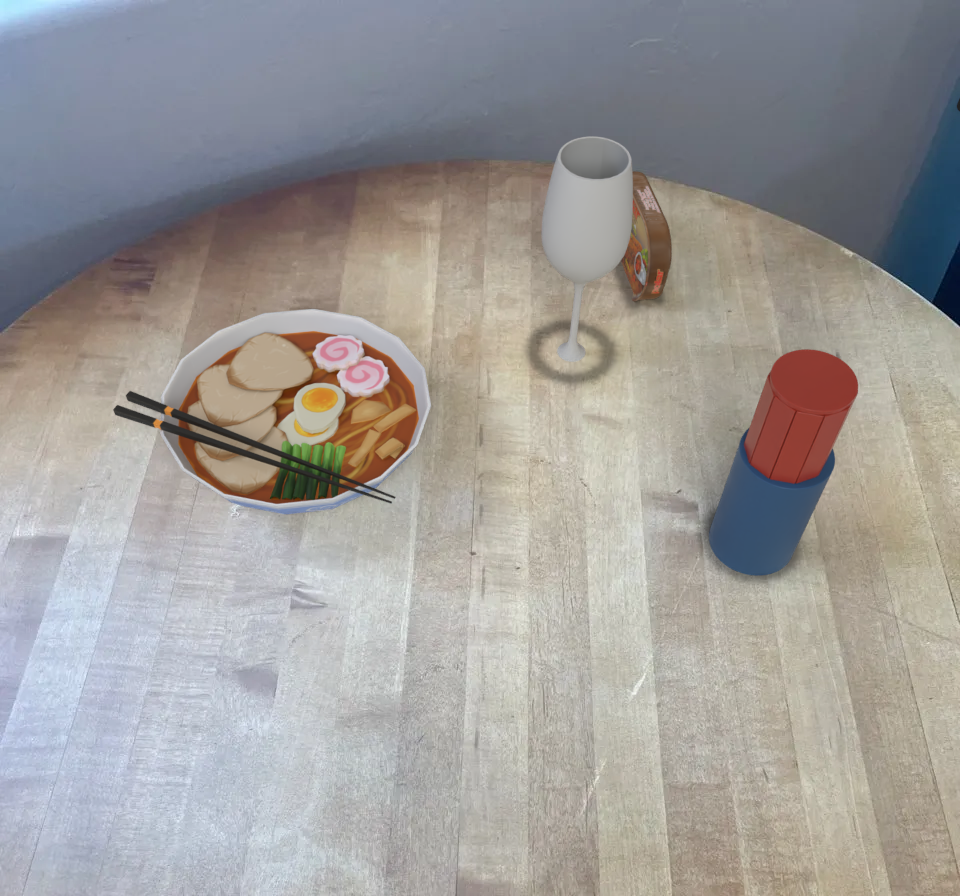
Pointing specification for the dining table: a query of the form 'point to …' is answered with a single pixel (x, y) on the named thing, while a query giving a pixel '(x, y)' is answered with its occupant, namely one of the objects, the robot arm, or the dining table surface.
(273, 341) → the ramen bowl
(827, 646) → the dining table surface
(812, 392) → the red grooved cylinder
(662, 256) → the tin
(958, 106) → the robot arm
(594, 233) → the wineglass
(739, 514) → the water bottle
